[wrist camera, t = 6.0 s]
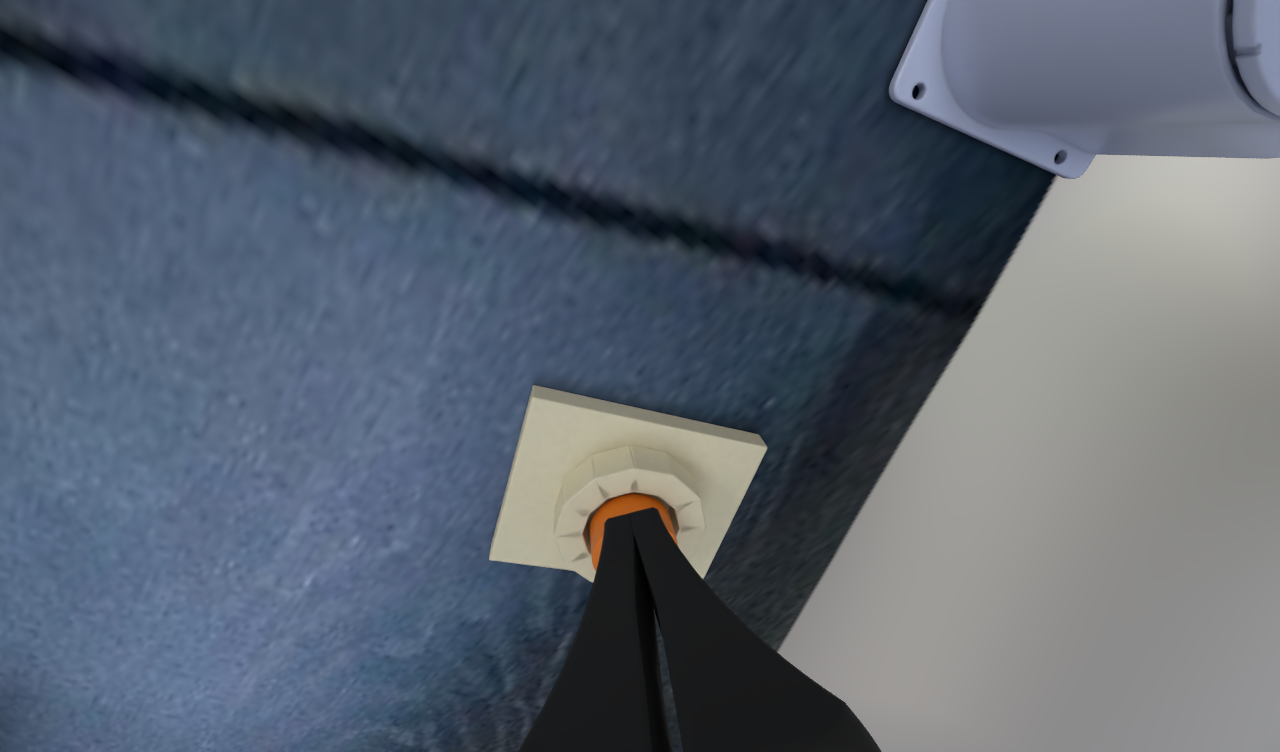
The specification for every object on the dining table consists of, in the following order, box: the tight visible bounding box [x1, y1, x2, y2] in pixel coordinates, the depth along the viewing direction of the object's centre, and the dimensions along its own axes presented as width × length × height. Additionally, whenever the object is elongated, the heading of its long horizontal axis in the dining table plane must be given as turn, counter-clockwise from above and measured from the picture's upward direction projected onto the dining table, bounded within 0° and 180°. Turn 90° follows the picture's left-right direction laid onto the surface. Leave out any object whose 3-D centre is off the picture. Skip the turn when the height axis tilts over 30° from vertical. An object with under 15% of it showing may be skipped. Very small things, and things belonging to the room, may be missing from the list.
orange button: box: [590, 494, 678, 571], centre depth 21 cm, size 4×4×2 cm
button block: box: [489, 385, 767, 582], centre depth 23 cm, size 11×9×3 cm
